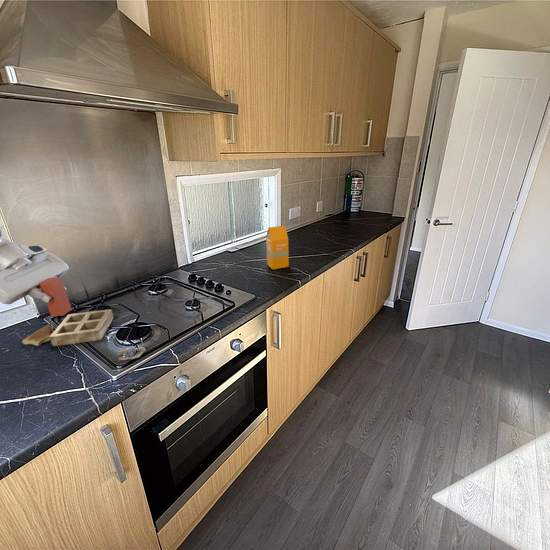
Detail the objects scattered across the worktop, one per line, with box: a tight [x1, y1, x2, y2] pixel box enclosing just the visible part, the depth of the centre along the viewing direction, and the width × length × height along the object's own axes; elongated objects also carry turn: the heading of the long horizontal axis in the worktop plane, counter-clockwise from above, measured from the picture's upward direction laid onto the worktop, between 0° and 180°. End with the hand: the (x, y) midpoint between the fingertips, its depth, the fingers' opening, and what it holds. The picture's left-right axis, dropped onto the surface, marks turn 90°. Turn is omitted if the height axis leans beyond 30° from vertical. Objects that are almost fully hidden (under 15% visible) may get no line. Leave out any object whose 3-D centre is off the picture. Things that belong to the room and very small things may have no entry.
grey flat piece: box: [115, 346, 147, 362], centre depth 85 cm, size 7×8×2 cm
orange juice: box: [265, 225, 290, 270], centre depth 144 cm, size 8×9×20 cm
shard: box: [21, 321, 54, 347], centre depth 95 cm, size 11×8×2 cm
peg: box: [39, 277, 73, 317], centre depth 81 cm, size 4×4×10 cm
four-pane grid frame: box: [49, 308, 114, 347], centre depth 97 cm, size 14×14×4 cm
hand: (57, 295), depth 81 cm, fingers closed on peg, 3 cm apart
